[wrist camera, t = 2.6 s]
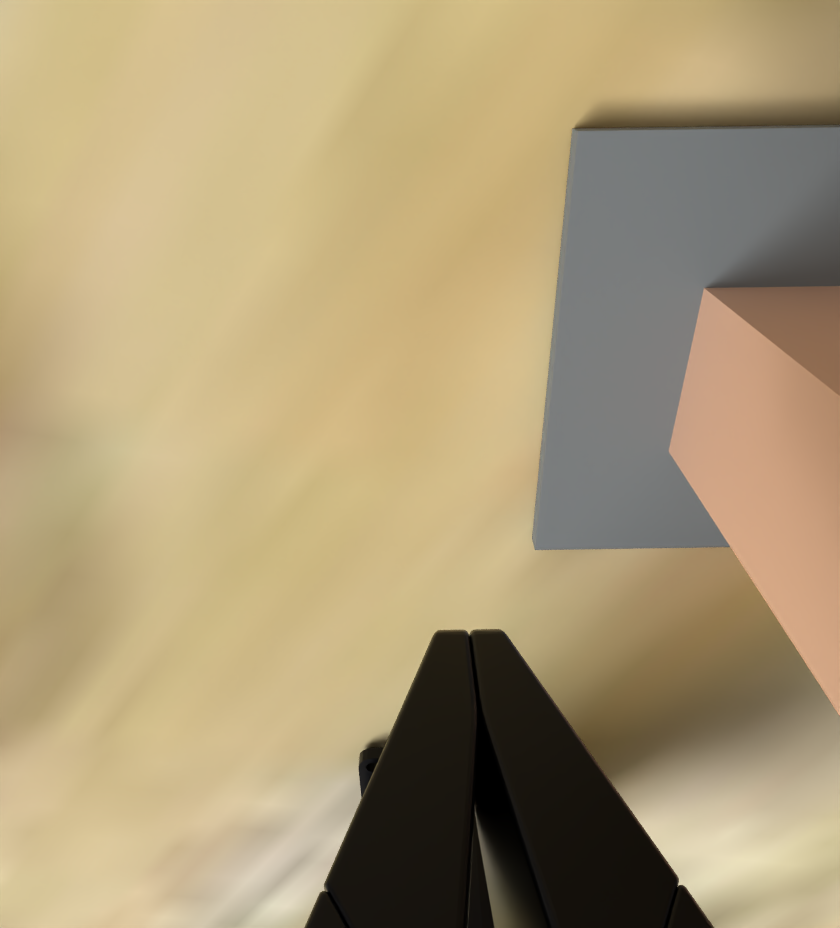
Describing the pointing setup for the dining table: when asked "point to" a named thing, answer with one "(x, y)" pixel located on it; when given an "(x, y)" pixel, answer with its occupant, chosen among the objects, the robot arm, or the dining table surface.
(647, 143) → the slate mat
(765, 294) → the terracotta block
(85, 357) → the dining table surface
